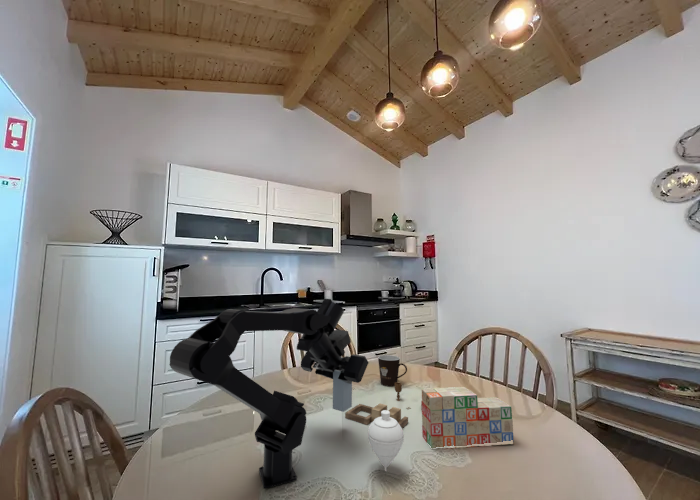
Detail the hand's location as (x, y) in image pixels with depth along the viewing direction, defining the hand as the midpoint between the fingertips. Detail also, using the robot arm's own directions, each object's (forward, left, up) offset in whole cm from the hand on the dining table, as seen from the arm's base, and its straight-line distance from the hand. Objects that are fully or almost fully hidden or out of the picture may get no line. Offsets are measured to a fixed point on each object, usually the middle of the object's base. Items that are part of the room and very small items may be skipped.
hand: (345, 380), depth 82 cm
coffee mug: (+25, -31, -13) cm, 42 cm away
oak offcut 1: (0, -11, -13) cm, 17 cm away
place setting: (+3, -32, -13) cm, 35 cm away
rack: (+1, -10, -12) cm, 16 cm away
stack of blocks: (-18, -26, -13) cm, 34 cm away
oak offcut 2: (-4, -13, -13) cm, 19 cm away
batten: (-1, +1, -7) cm, 7 cm away
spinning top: (-20, 0, -13) cm, 24 cm away
